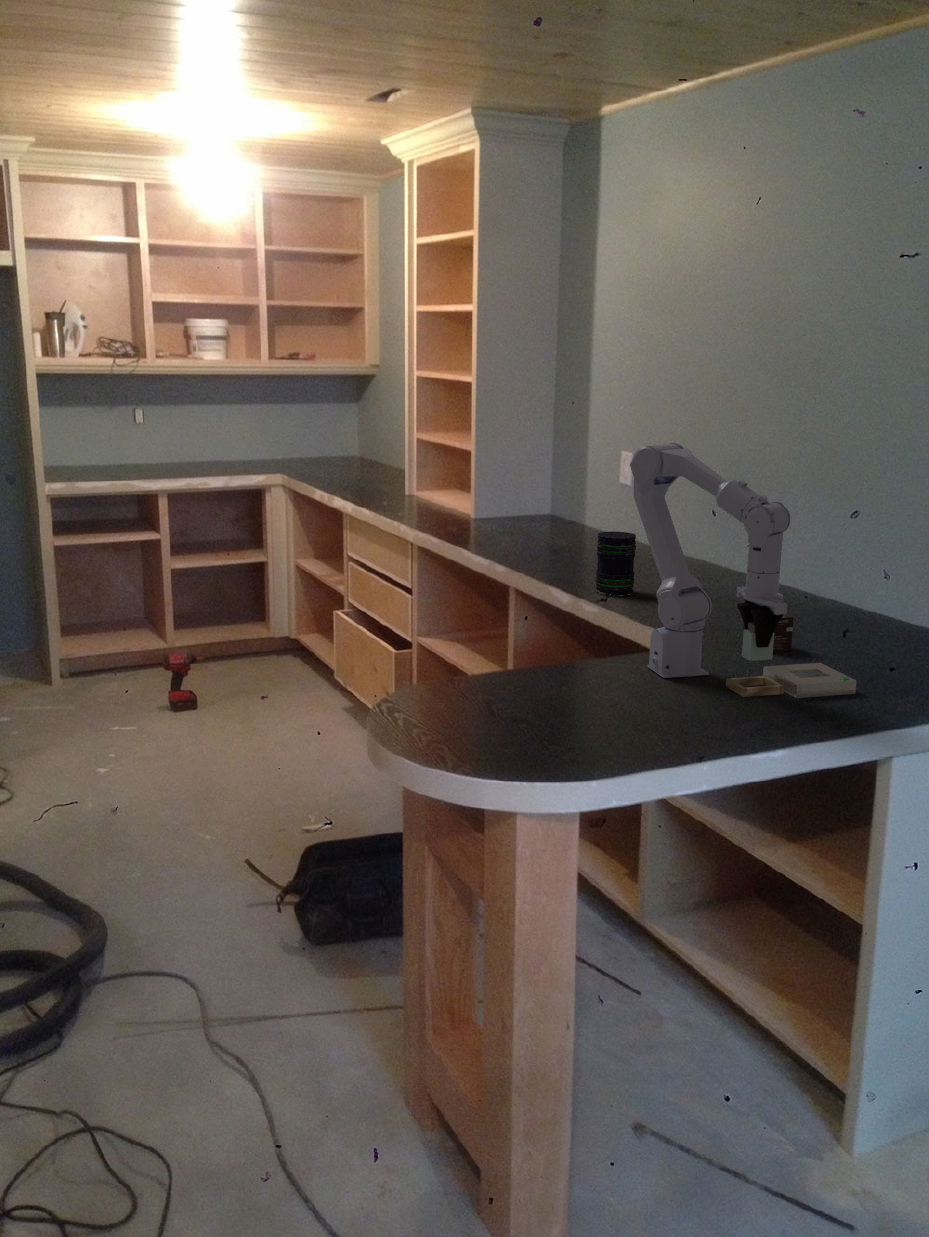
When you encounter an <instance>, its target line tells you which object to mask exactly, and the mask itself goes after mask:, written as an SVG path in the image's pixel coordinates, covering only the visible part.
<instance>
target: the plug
mask: <svg viewBox="0 0 929 1237" xmlns="http://www.w3.org/2000/svg"><path fill="white" fill-rule="evenodd" d="M773 644H774V633H773V635H772V638H771V641H770V644H769V646H768V647H762V648H758V647H757V646H756V637H755V623H754V622H748V630H745V629H743V635H742V648H741V657H742V658H744V659H746V660H748V661H751V662H753V661H767V660H769V661H770V660H773V655H774V654H773V653H774V652H773Z"/></svg>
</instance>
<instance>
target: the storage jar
mask: <svg viewBox="0 0 929 1237" xmlns="http://www.w3.org/2000/svg"><path fill="white" fill-rule="evenodd" d="M636 538H637V535H636V534H635V533H632V532H628V531H627V532H626V531H603V532H598V533H597V543H596V556H597V565H596V566H597V567H596V571H595V590H596V589H597V590H599V591H600V592H603V593H606V594H611V595H628V594H632V593H633V594H634V584H635V571H634V567H635V566H634V565H635V564H634V563H635V557H636V550H637V549H636V548H637V545H636ZM633 594H632V595H633Z"/></svg>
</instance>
